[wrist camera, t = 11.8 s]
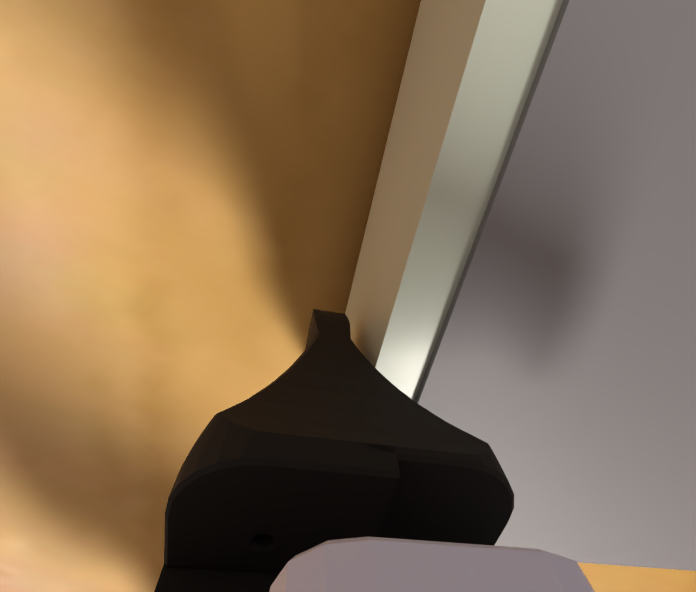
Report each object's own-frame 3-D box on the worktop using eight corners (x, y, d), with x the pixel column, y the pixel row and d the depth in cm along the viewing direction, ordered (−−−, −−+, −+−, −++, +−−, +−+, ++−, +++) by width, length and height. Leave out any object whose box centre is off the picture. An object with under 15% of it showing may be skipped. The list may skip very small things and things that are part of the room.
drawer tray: (658, 444, 19) (789, 571, 14) (323, 402, 16) (324, 537, 11) (975, 27, 12) (1525, -52, 6) (461, -166, 9) (656, -568, 4)
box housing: (674, 435, 20) (836, 580, 14) (348, 392, 17) (364, 547, 11) (974, 48, 13) (1616, -24, 6) (491, -128, 10) (773, -542, 4)
